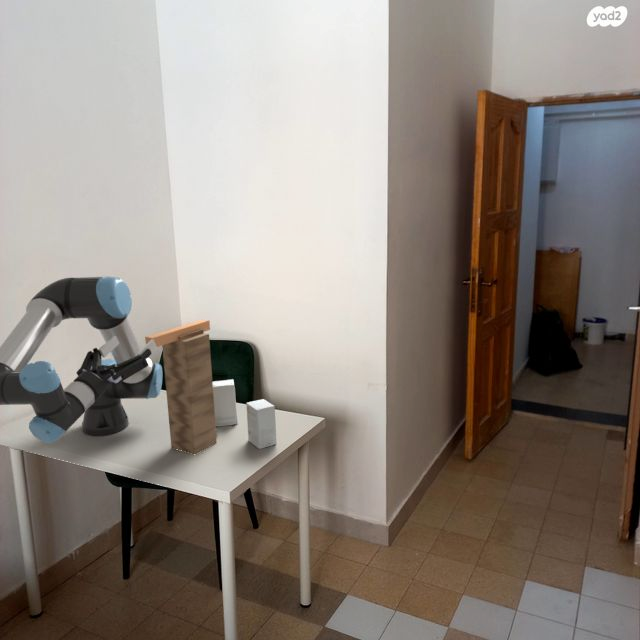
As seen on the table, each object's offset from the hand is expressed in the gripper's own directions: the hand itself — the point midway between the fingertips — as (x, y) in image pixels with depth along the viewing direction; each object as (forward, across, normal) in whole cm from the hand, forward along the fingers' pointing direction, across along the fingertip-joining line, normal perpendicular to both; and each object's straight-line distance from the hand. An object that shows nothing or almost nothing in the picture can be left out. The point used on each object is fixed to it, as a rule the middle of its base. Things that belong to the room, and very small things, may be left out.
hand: (135, 341), depth 166 cm
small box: (+12, +21, -47) cm, 53 cm away
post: (+2, +2, -43) cm, 43 cm away
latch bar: (+14, +2, -9) cm, 17 cm away
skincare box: (+20, +1, -51) cm, 54 cm away
